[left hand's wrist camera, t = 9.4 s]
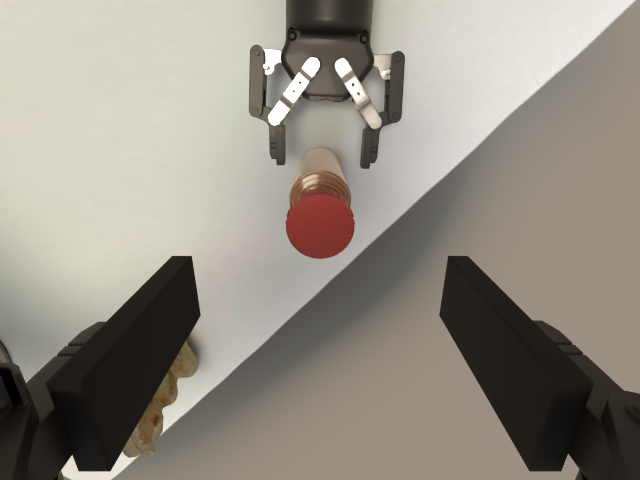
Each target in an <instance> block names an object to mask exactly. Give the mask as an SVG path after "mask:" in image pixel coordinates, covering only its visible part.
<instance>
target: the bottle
mask: <svg viewBox="0 0 640 480" xmlns="http://www.w3.org/2000/svg"><path fill="white" fill-rule="evenodd" d="M316 187H317V188H324V187H325V188H326V189H330V190H331V189H332V190H333V191H335V192H337V193H338V192H339V194H340V195H341V196H342V197H343V198H344V197H345V200H346V201H347V203H349V205H350V204H351V195H350V191H349V188H348V185H347V182H346V180H345V177H344V174H343V171H342V169H341V166H340V163H339V160H338V158H337V156H336V155H335V154H334V153H333V152H332V151H330V150H329V149H326V148H314V149H312V150H310V151H308V152H307V153H306V154H305V155H304V157H303V158H302V161H301V164H300V166H299V169H298V172H297V175H296V178H295V180H294V183H293V186H292V189H291V192H290V198H289V202H290V206H291V203H293V202H294V200H295V198H296V197H298V196H299V195H300V194H301V193H302V192H305V191H307V190H308V189H314V188H316Z"/></svg>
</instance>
